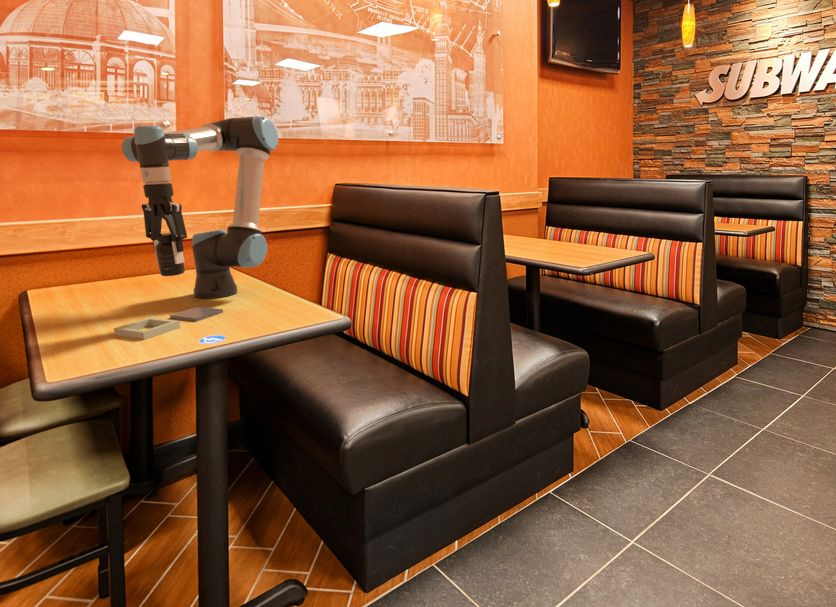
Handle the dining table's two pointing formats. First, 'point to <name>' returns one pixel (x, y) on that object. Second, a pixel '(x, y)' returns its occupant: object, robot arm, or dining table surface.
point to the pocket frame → (133, 331)
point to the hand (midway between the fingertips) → (170, 262)
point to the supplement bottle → (167, 256)
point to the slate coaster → (196, 313)
